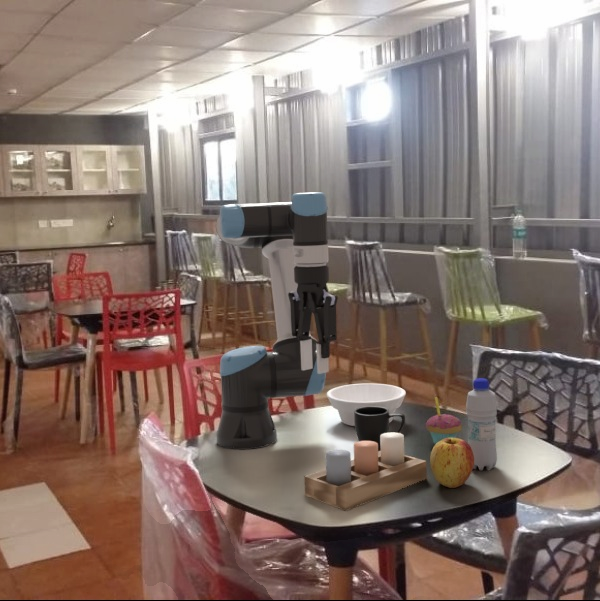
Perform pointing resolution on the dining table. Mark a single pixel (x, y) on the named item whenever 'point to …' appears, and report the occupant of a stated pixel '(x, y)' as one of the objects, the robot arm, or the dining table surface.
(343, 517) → the dining table surface
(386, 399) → the bowl
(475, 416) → the bottle
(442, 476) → the apple
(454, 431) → the cupcake
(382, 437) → the white cylinder
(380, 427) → the mug
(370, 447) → the peach cylinder
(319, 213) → the robot arm
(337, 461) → the blue-grey cylinder
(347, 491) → the wooden peg tray
